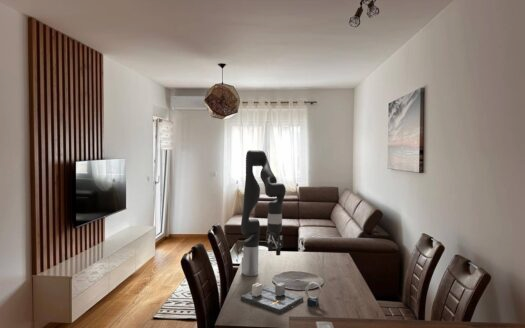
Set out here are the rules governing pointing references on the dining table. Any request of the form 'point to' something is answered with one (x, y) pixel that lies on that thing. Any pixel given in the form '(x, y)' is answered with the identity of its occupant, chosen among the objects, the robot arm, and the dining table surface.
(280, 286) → the fader grey
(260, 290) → the fader white
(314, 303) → the watch
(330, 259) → the dining table surface
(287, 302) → the panel
